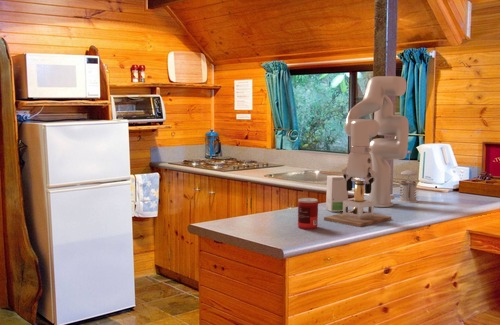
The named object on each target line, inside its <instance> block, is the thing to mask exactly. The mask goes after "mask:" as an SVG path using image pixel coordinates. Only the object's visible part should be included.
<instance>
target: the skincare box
mask: <svg viewBox="0 0 500 325" xmlns="http://www.w3.org/2000/svg"><path fill="white" fill-rule="evenodd" d="M346 184H347V181H345V178H344V177H343V175H326V196H325V197H326V198H325V199H326V200H325V210H326V211H328V212H333V213H337V212H340V211H343V200H349V191H347V188H346Z"/></svg>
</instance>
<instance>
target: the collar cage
mask: <svg viewBox="0 0 500 325" xmlns="http://www.w3.org/2000/svg"><path fill="white" fill-rule="evenodd" d="M349 207H350V208H354V207H356V208H358V212H357V214H356V213H353V209H350V210H349ZM365 208H367V209H368V210H364V209H365ZM342 213H343V217H347V218H352V219H358V220H363V219H367V218H372V217H373V214H374V213H375V211H374V201H371V200H369V199H365V198H364V202H354V198H351V199H349V198H348V200H343V212H342Z"/></svg>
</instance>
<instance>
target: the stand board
mask: <svg viewBox="0 0 500 325" xmlns="http://www.w3.org/2000/svg"><path fill="white" fill-rule="evenodd" d="M323 220H324V221H327V222H332V221H333V223H337V222H338V223H337V224H342V223H343V224H345V225H347V224H348V226H352V225H353V226H354V227H357V226H358V228H361V226H362V227H365V226H370V225H373V224H378V223H383V222H387V221H392V216H390V215H383V214H378V213H373V217H372V218H367V219H363V220H358V219H352V218H347V217H343V212H341V213H337V214H333V215H328V216H324V217H323ZM343 224H342V225H343ZM353 226H352V227H353Z"/></svg>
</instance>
